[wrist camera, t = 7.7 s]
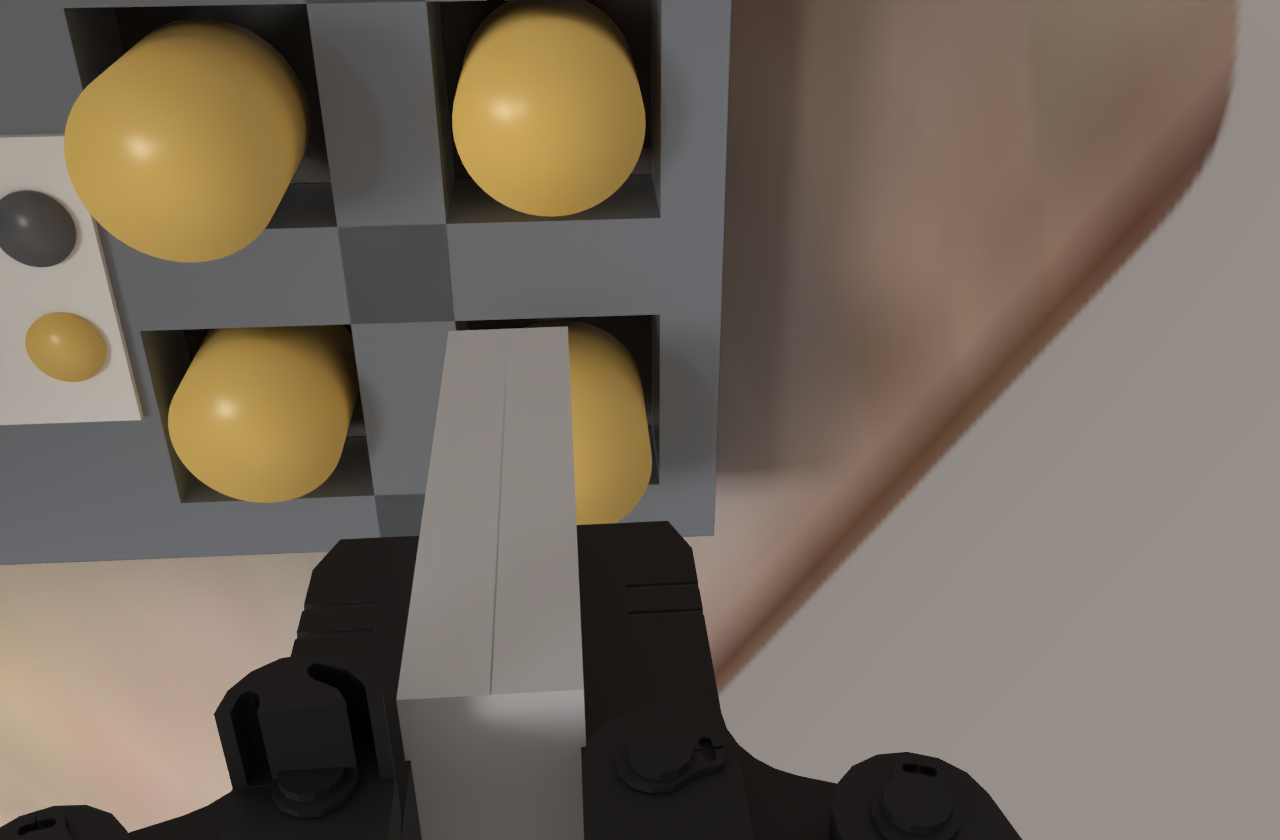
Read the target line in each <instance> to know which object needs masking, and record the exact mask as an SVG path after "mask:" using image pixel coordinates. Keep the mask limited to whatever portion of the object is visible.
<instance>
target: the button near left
mask: <svg viewBox="0 0 1280 840" xmlns="http://www.w3.org/2000/svg"><path fill="white" fill-rule="evenodd" d="M309 137H310V112H309V107H308V102H307V98H306V95H305V92H304V90H303V87H302V85H301V83H300V81H299V79H298V77H297V75H296V74H295V72H294V71H293V69H292V68H291V66H290V65H289V63H288V62H287V61H286V60H285V59H284V57H283V56H282V55H281V54H280V53H279V52H278V51H277V50H276V49H275V48H274V47H273V46H272V45H270V44H269V43H268V42H266V41H265V40H264V39H262V38H261V37H259V36H258V35H256V34H254V33H253V32H251V31H249V30H247V29H245V28H243V27H240V26H238V25H236V24H232V23H229V22H226V21H222V20H216V19H210V18H190V19H182V20H178V21H174V22H170V23H168V24H165V25H163V26H160V27H159V28H157V29H155V30H153V31H152V32H150V33H149V34H148V35H146V36H145V37H144V38H143V39H141V40H140V41H139V42H138V43H137V44H135V45H134V46H133V47H132V48H131V49H130V50H128V51H127V52H126V53H125V54H124V55H123V56H121V57H120V58H119V59H118V60H117V61H116V62H114V63H113V64H112V65H111V66H110V67H109V68H107V69H106V70H105V71H104V72H103V73H102V74H100V75H99V76H98V77H97V78H96V79H95V80H93V81H92V82H91V83H90V84H89V85H88V86H87V87H86V88H85V89H84V90H83V92H82V93H81V94H80V95H79V97H78V98H77V100H76V102H75V103H74V105H73V107H72V109H71V112H70V114H69V116H68V120H67V124H66V128H65V136H64V155H65V161H66V166H67V170H68V173H69V176H70V179H71V182H72V184H73V187H74V189H75V191H76V193H77V195H78V196H79V198H80V200H81V201H82V203H83V205H84V206H85V207H86V209H87V210H88V211H89V213H90V214H91V215H92V216H93V218H94V219H95V220H96V221H97V222H98V223H99V224H100V225H101V226H102V227H103V228H104V229H106V230H107V231H108V232H109V233H111V234H112V235H113V236H114V237H116V238H117V239H119V240H120V241H122V242H123V243H125V244H126V245H128V246H130V247H132V248H134V249H136V250H138V251H140V252H142V253H145V254H148V255H150V256H153V257H156V258H160V259H164V260H169V261H176V262H190V263H196V262H207V261H212V260H216V259H220V258H223V257H226V256H229V255H232V254H234V253H235V252H237V251H239V250H241V249H243V248H244V247H246V246H247V245H249V244H250V243H251V242H253V241H254V240H255V239H256V238H257V237H258V236H259V235H260V234H261V233H262V232H263V230H264V229H265V228H266V226H267V225H268V224H269V222H270V220H271V218H272V216H273V214H274V213H275V211H276V209H277V207H278V205H279V203H280V201H281V199H282V197H283V195H284V194H285V192H286V190H287V188H288V186H289V184H290V182H291V180H292V178H293V176H294V175H295V173H296V171H297V169H298V167H299V165H300V163H301V161H302V159H303V157H304V155H305V152H306V149H307V146H308V142H309Z"/></svg>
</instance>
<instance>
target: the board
mask: <svg viewBox="0 0 1280 840" xmlns="http://www.w3.org/2000/svg"><path fill="white" fill-rule="evenodd" d="M439 1H485V0H0V565H15V564H39V563H63V562H87V561H111V560H135V559H160V558H184V557H208V556H232V555H256V554H280V553H304V552H328V551H330V550H331V549H332V548H333V547H334V546H335V545H336V544H337V542H338V541H339V540H340V539H359V538H380V537H401V536H420V529H421V522H422V515H423V508H424V501H425V494H426V487H427V480H428V473H429V465H430V458H431V451H432V444H433V437H434V430H435V423H436V416H437V409H438V402H439V395H440V388H441V381H442V374H443V367H444V360H445V353H446V345H447V338H448V331H463V330H467V321H469V320H501V319H532V318H564V317H595V316H626V315H651V426H648V432H649V439H650V446H651V455H652V471H651V476H650V480H649V484H648V486H647V489H646V491H645V493H644V495H643V496H642V498H641V500H640V501H639V502H638V504H637V505H636V506H635V508H634V509H633V510H632V511H631V512H630V513H629V514H628V515H627V516H625V517H624V518H623V519H621V520H620V521H619V522H617V523H630V522H651V521H669V523H670V524H671V525H672V526H673V527H674V528H675V529H676V531H677V532H678V533H679V534H680V535H681V536H682V537H691V536H714V515H715V485H716V454H717V424H718V393H719V362H720V332H721V301H722V271H723V240H724V210H725V179H726V148H727V118H728V87H729V57H730V26H731V0H652V137H651V175H629V177H628V178H627V180H626V181H625V182H624V183H623V184H622V185H621V187H620V188H619V189H618V190H617V191H615V192H614V193H613V194H612V195H611V196H610V197H608V198H607V199H605V200H604V201H602V202H601V203H599V204H598V205H596V206H594V207H592V208H590V209H587V210H584V211H581V212H579V213H575V214H570V215H566V216H555V217H550V216H537V215H530V214H526V213H523V212H519V211H516V210H514V209H512V208H509V207H507V206H505V205H503V204H502V203H500V202H498V201H496V200H495V199H494V198H492V197H491V196H490V195H488V194H487V193H486V192H485V191H484V190H483V189H482V188H481V187H480V186H479V185H477V183H476V182H475V181H474V180H473V179H469V180H455V179H454V167H453V155H452V143H451V132H450V120H449V108H448V96H447V84H446V73H445V61H444V49H443V37H442V26H441V14H440V2H439ZM264 4H306V5H307V12H308V19H309V26H310V33H311V41H312V48H313V55H314V62H315V70H316V77H317V84H318V91H319V98H320V106H321V113H322V120H323V127H324V134H325V142H326V149H327V156H328V163H329V171H330V178H331V183H314V184H289V186H288V188H287V190H286V192H285V194H284V195H283V197H282V199H281V201H280V203H279V205H278V207H277V209H276V211H275V213H274V214H273V216H272V218H271V220H270V222H269V224H268V225H267V226H266V228H265V229H264V230H263V232H262V233H261V234H260V235H259V236H258V237H257V238H256V239H255V240H254V241H253V242H251V243H250V244H249V245H247V246H246V247H244V248H243V249H241V250H239V251H237V252H235V253H234V254H232V255H229V256H226V257H223V258H220V259H216V260H212V261H207V262H196V263H190V262H176V261H169V260H164V259H160V258H156V257H153V256H150V255H148V254H145V253H142V252H140V251H138V250H136V249H134V248H132V247H130V246H128V245H126V244H125V243H123V242H122V241H120V240H119V239H117V238H116V237H114V236H113V235H112V234H111V233H109V232H108V231H107V230H106V229H104V228H103V227H102V226H101V225H100V224H99V223H98V222H97V221H96V220H95V219H94V218H93V216H92V215H91V214H90V213H89V211H88V210H87V209H86V207H85V206H84V205H83V203H82V201H81V200H80V198H79V196H78V195H77V193H76V191H75V189H74V187H73V184H72V182H71V179H70V176H69V173H68V170H67V166H66V161H65V155H64V136H65V128H66V124H67V120H68V116H69V114H70V112H71V109H72V107H73V105H74V103H75V102H76V100H77V98H78V97H79V95H80V94H81V93H82V92H83V90H84V89H85V88H86V87H87V86H88V85H89V84H90V83H91V82H92V81H93V80H95V79H96V78H97V77H98V76H99V75H100V74H102V73H103V72H104V71H105V70H106V69H107V68H109V67H110V66H111V65H112V64H113V63H114V62H116V61H117V60H118V59H119V58H120V57H121V56H123V55H124V52H123V47H122V42H121V38H120V33H119V29H118V24H117V19H116V15H115V10H114V7H154V6H209V5H264ZM343 324H351V329H352V336H353V344H354V351H355V358H356V365H357V373H358V380H359V387H360V394H361V401H362V409H363V416H364V423H365V430H366V437H347V438H346V439H345V442H344V446H343V450H342V453H341V457H340V459H339V462H338V464H337V466H336V468H335V469H334V471H333V473H332V474H331V475H330V476H329V477H328V479H327V480H326V481H325V482H323V483H322V484H321V485H320V486H319V487H317V488H316V489H314V490H313V491H311V492H309V493H307V494H305V495H303V496H301V497H298V498H295V499H292V500H288V501H283V502H274V503H257V502H248V501H244V500H239V499H236V498H233V497H230V496H227V495H224V494H222V493H220V492H218V491H216V490H214V489H212V488H210V487H209V486H207V485H206V484H204V483H203V482H201V481H200V480H199V479H197V478H196V477H195V476H194V475H193V474H192V473H191V472H190V471H189V470H188V469H187V468H186V466H185V465H184V464H183V463H182V461H181V460H180V458H179V457H178V455H177V453H176V451H175V449H174V447H173V445H172V442H171V439H170V435H169V429H168V414H169V408H170V404H171V401H172V399H173V396H174V395H175V393H176V391H177V389H178V387H179V385H180V383H181V381H182V380H183V378H184V376H185V374H186V372H187V370H188V368H189V366H190V364H191V361H190V357H189V352H188V347H187V343H186V338H185V333H184V330H186V329H218V328H249V327H281V326H312V325H343Z"/></svg>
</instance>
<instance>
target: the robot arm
mask: <svg viewBox="0 0 1280 840" xmlns="http://www.w3.org/2000/svg"><path fill="white" fill-rule="evenodd" d="M214 716H215V720H216V724H217V728H218V732H219V736H220V740H221V744H222V748H223V751H224V755H225V759H226V763H227V767H228V771H229V775H230V779H231V783H232V787H233V789H232V791H231V792H230V793H228V794H226V795H225V796H223V797H221V798H220V799H218V800H216V801H215V802H213V803H211V804H210V805H208V806H206V807H204V808H201V809H199V810H196V811H194V812H191V813H189V814H186V815H184V816H181V817H178V818H174V819H171V820H168V821H165V822H162V823H159V824H155V825H152V826H149V827H146V828H143V829H139V830H136V831H133V832H130V833H128V832H127V830H126V829H125V828H124V827H123V826H122V825H121V824H120V823H119V821H118V820H117V819H116V818H115V817H114V816H113V815H112V814H111V813H108V812H105V811H102V810H99V809H96V808H93V807H91V806H88V805H71V806H52V807H49V808H46V809H42V810H39V811H36V812H33V813H29V814H26V815H23V816H19V817H18V818H16V819H14V820H13V821H11V822H9V823H7V824H6V825H4V826H2V827H0V840H1022V839H1021V838H1020V836H1019V835H1018V833H1017V832H1016V831H1015V829H1014V828H1013V826H1012V825H1011V824H1010V822H1009V821H1008V820H1007V818H1006V817H1005V816H1004V814H1003V813H1002V811H1001V810H1000V809H999V807H998V806H997V804H996V803H995V802H994V800H993V799H992V798H991V796H990V795H989V794H988V793H987V792H986V791H985V790H984V789H983V788H982V787H981V786H980V785H979V784H978V783H977V782H976V781H975V780H974V779H973V778H972V777H971V776H970V775H969V774H968V773H966V772H965V771H963V770H961V769H959V768H956V767H955V766H952V765H951V764H949V763H947V762H945V761H943V760H940V759H939V758H935V757H930V756H925V755H920V754H915V753H909V752H902V753H892V754H880V755H876V756H874V757H871V758H869V759H867V760H865V761H863V762H860V763H858V764H856V765H854V766H852V767H851V769H850V770H849V771H848V772H847V773H846V774H845V775H844V777H843V778H842V779H841V780H840V781H839V782H838V784H836V783H831V782H826V781H821V780H816V779H811V778H807V777H801V776H797V775H794V774H791V773H787V772H784V771H780V770H778V769H775V768H773V767H771V766H769V765H767V764H765V763H763V762H761V761H759V760H757V759H755V758H754V757H753V756H752V755H750V754H749V753H748V752H747V751H746V750H744V749H743V748H742V747H741V746H739V745H738V743H737V742H736V741H735V739H734V738H733V737H732V735H731V734H730V732H729V731H728V730H727V728H726V725H725V722H724V719H723V717H722V714H721V709H720V703H719V698H718V692H717V687H716V681H715V675H714V670H713V664H712V658H711V653H710V647H709V641H708V636H707V630H706V624H705V619H704V615H703V608H702V602H701V596H700V591H699V588H698V579H697V574H696V568H695V562H694V557H693V551H692V548H691V547H690V546H689V544H688V543H687V542H686V541H685V540H684V539H683V537H682V536H681V535H680V534H679V533H678V532H677V531H676V529H675V528H674V527H673V526H672V525H671V524H670V523H669V521H651V522H630V523H609V524H588V525H577V524H576V501H575V479H574V456H573V433H572V411H571V388H570V365H569V343H568V326H567V327H541V328H515V329H489V330H463V331H448V338H447V345H446V353H445V360H444V367H443V374H442V381H441V388H440V395H439V402H438V409H437V416H436V423H435V430H434V437H433V444H432V451H431V458H430V465H429V473H428V480H427V487H426V494H425V501H424V508H423V515H422V522H421V529H420V536H401V537H380V538H359V539H340V540H339V541H338V542H337V544H336V545H335V546H334V547H333V548H332V549H331V550H330V551H329V553H328V554H327V555H326V556H325V557H324V558H323V559H322V561H321V562H320V563H319V564H318V565H317V566H316V567H315V568H314V570H313V572H312V576H311V580H310V584H309V587H308V591H307V595H306V599H305V603H304V611H302V615H301V619H300V622H299V626H298V630H297V639H295V642H294V646H293V650H292V654H291V657H287V658H281V659H279V660H276V661H274V662H272V663H270V664H267V665H265V666H263V667H261V668H258V669H256V670H254V671H252V672H250V673H249V674H248V675H247V676H245V677H244V678H243V679H242V680H240V681H239V682H238V683H237V684H236V685H234V686H233V687H232V688H231V689H230V690H228V691H227V693H226V695H225V696H224V698H223V700H222V701H221V703H220V705H219V707H218V708H217V710H216V712H215V713H214Z"/></svg>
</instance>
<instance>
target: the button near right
mask: <svg viewBox="0 0 1280 840" xmlns="http://www.w3.org/2000/svg"><path fill="white" fill-rule="evenodd" d="M645 125H646V122H645V110H644V105H643V100H642V95H641V91H640V87H639V82H638V78H637V74H636V69H635V65H634V60H633V57H632V54H631V51H630V48H629V45H628V43H627V41H626V39H625V37H624V36H623V34H622V33H621V31H620V30H619V28H618V27H617V25H616V24H615V23H614V22H613V21H612V20H611V19H610V17H608V16H607V15H606V14H605V13H604V12H603V11H601V10H600V9H599V8H597V7H596V6H594V5H593V4H591V3H589V2H587V1H585V0H509V1H508V2H506V3H504V4H502V5H500V6H499V7H498V8H496V9H495V10H494V11H492V12H491V13H490V14H489V15H488V16H487V17H486V18H485V19H484V20H483V21H482V22H481V24H480V25H479V26H478V28H477V29H476V31H475V32H474V34H473V36H472V38H471V39H470V42H469V44H468V47H467V49H466V53H465V57H464V60H463V65H462V69H461V73H460V78H459V82H458V86H457V91H456V95H455V99H454V104H453V113H452V128H453V135H454V141H455V144H456V148H457V151H458V154H459V156H460V158H461V161H462V163H463V165H464V166H465V168H466V170H467V171H468V173H469V175H470V176H471V177H472V178H473V180H474V181H475V182H476V183H477V185H479V186H480V187H481V188H482V189H483V190H484V191H485V192H486V193H487V194H488V195H490V196H491V197H492V198H494V199H495V200H496V201H498V202H500V203H502V204H503V205H505V206H507V207H509V208H512V209H514V210H516V211H519V212H523V213H526V214H530V215H537V216H550V217H555V216H566V215H570V214H575V213H579V212H581V211H584V210H587V209H590V208H592V207H594V206H596V205H598V204H599V203H601V202H602V201H604V200H605V199H607V198H608V197H610V196H611V195H612V194H613V193H614V192H615V191H617V190H618V189H619V188H620V187H621V185H622V184H623V183H624V182H625V181H626V180H627V178H628V177H629V175H630V174H631V172H632V171H633V169H634V167H635V165H636V163H637V161H638V159H639V156H640V153H641V150H642V147H643V142H644V137H645Z"/></svg>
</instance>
